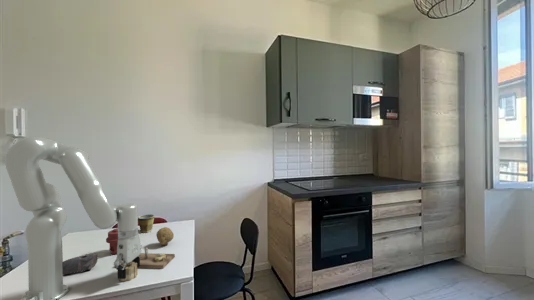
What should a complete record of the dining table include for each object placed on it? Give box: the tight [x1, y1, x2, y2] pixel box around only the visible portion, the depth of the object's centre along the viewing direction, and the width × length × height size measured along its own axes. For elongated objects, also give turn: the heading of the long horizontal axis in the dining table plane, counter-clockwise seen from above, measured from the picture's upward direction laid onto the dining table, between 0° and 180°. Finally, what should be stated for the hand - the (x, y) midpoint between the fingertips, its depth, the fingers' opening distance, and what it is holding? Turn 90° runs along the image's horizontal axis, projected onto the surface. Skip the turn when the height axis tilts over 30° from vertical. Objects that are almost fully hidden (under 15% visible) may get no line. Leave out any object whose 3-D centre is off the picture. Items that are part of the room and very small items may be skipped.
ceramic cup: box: [138, 213, 155, 234], centre depth 163 cm, size 13×10×10 cm
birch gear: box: [118, 262, 138, 282], centre depth 104 cm, size 7×7×5 cm
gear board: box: [121, 247, 176, 270], centre depth 118 cm, size 12×23×7 cm, turn 86°
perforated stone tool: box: [63, 253, 99, 275], centre depth 109 cm, size 15×5×7 cm, turn 114°
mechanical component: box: [105, 227, 118, 255], centre depth 130 cm, size 12×10×10 cm
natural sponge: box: [155, 226, 174, 246], centre depth 139 cm, size 9×9×10 cm
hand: (129, 272), depth 104 cm, fingers open, 9 cm apart
